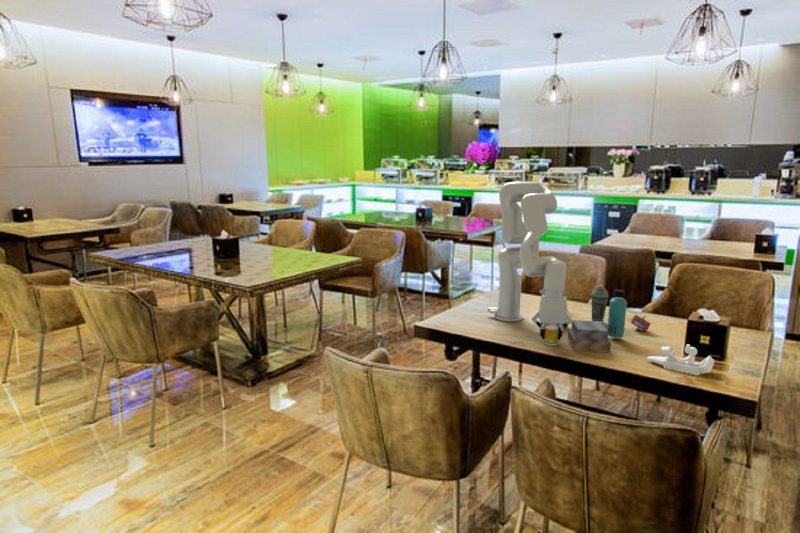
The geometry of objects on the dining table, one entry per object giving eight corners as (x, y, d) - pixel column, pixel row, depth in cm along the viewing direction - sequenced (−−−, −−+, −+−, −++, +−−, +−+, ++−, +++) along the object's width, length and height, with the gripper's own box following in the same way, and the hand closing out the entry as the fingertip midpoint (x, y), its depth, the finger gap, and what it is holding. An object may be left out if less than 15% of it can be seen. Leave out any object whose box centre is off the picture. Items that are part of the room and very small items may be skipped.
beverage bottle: (623, 337, 209) (628, 288, 204) (624, 342, 203) (629, 292, 198) (605, 335, 211) (610, 287, 206) (606, 340, 205) (610, 291, 200)
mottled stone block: (573, 350, 194) (575, 330, 192) (567, 338, 207) (569, 319, 205) (609, 352, 192) (612, 331, 191) (601, 340, 205) (603, 320, 203)
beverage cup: (603, 319, 230) (607, 275, 226) (608, 324, 223) (612, 279, 219) (586, 318, 231) (590, 275, 227) (590, 324, 224) (594, 278, 220)
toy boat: (650, 356, 189) (652, 333, 187) (713, 370, 178) (717, 346, 176) (642, 366, 181) (645, 342, 179) (708, 381, 169) (712, 355, 167)
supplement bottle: (555, 346, 198) (557, 322, 196) (541, 344, 201) (542, 319, 198) (559, 342, 202) (561, 318, 200) (545, 339, 205) (547, 316, 203)
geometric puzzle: (656, 326, 215) (646, 309, 217) (651, 330, 210) (640, 312, 212) (641, 333, 220) (631, 316, 222) (635, 337, 215) (624, 319, 217)
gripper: (531, 295, 195) (528, 341, 199) (579, 297, 192) (575, 343, 196) (529, 289, 202) (526, 334, 206) (575, 291, 200) (571, 336, 204)
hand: (550, 338), depth 201 cm, fingers closed on supplement bottle, 5 cm apart
